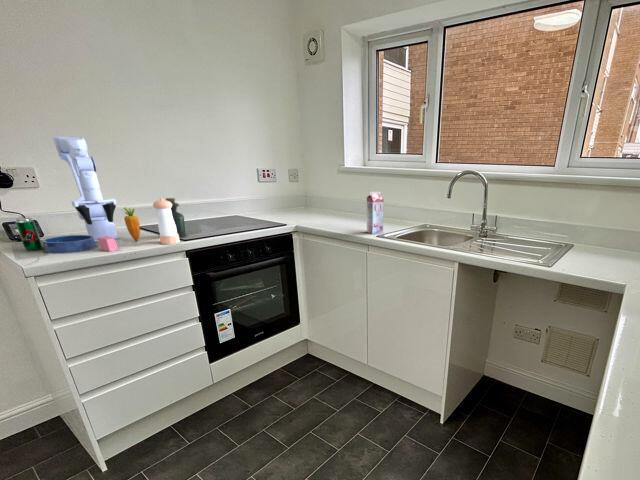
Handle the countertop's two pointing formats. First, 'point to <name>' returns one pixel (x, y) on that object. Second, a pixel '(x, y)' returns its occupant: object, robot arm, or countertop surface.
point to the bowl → (69, 243)
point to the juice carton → (375, 213)
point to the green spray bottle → (177, 218)
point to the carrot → (132, 224)
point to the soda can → (29, 234)
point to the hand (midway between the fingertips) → (100, 223)
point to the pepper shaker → (166, 222)
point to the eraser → (107, 243)
